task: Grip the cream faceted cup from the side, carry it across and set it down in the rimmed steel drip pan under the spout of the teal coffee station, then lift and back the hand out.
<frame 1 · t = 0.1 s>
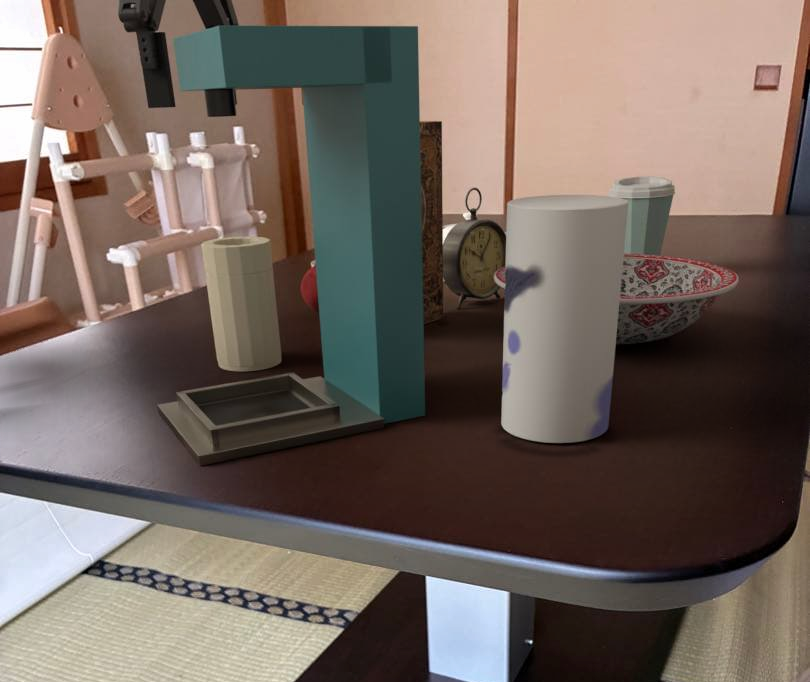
hand: (195, 106, 91), 28 cm above the table, tool pointing down, fingers open, 13 cm apart
candle: (343, 305, 128), on the table
book: (395, 327, 116), on the table
ceramic bowl: (607, 339, 107), on the table
onion: (323, 316, 122), on the table
disposable coffee cup: (634, 275, 142), on the table
cream faceted cup: (250, 362, 101), on the table
teapot: (465, 281, 142), on the table
container: (554, 427, 79), on the table
alarm clock: (473, 304, 126), on the table
coffee station: (258, 422, 83), on the table
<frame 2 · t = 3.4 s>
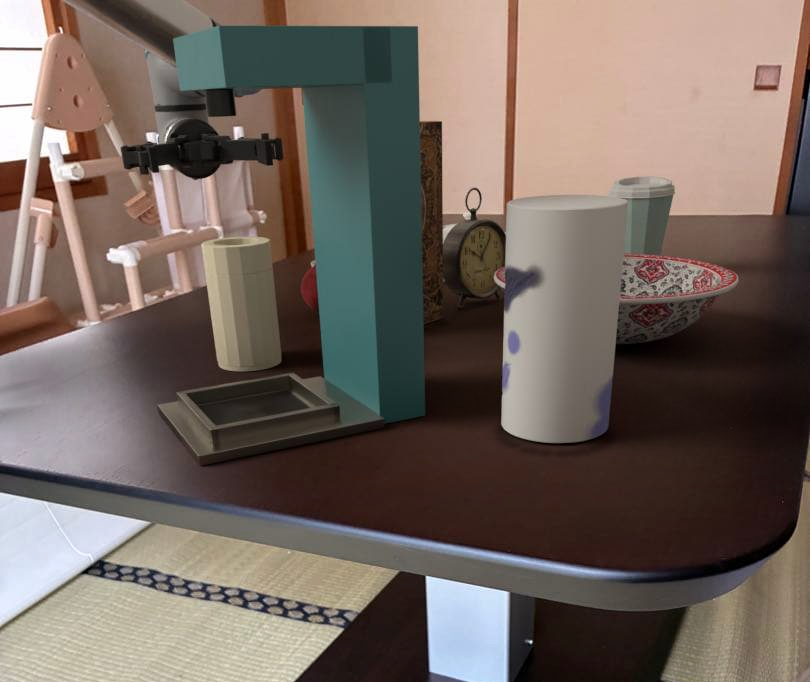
hand: (212, 156, 100), 22 cm above the table, tool horizontal, fingers open, 13 cm apart
nothing on the table moved.
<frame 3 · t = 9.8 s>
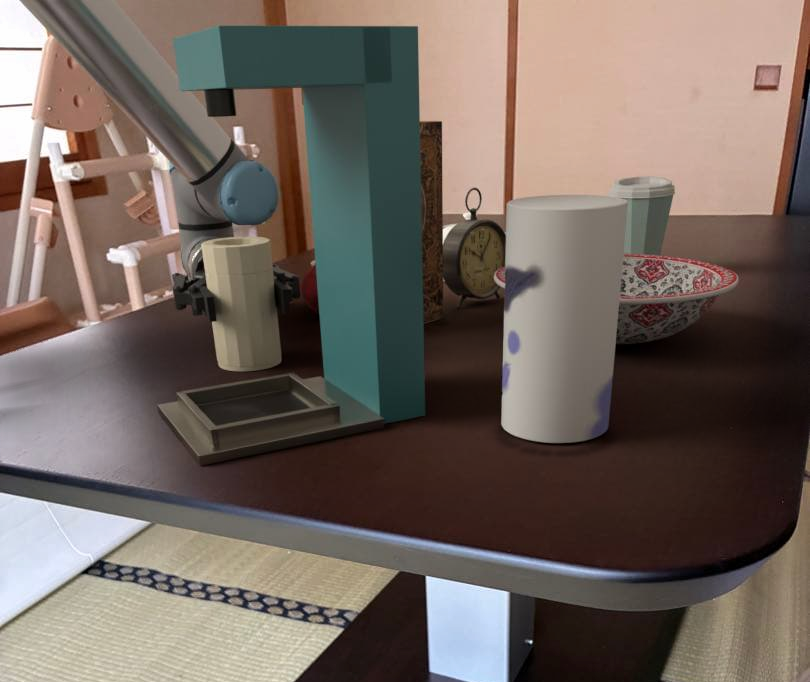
hand: (249, 305, 94), 8 cm above the table, tool horizontal, fingers closed on cream faceted cup, 8 cm apart
cream faceted cup: (250, 362, 101), on the table, touching gripper
everything else where it was.
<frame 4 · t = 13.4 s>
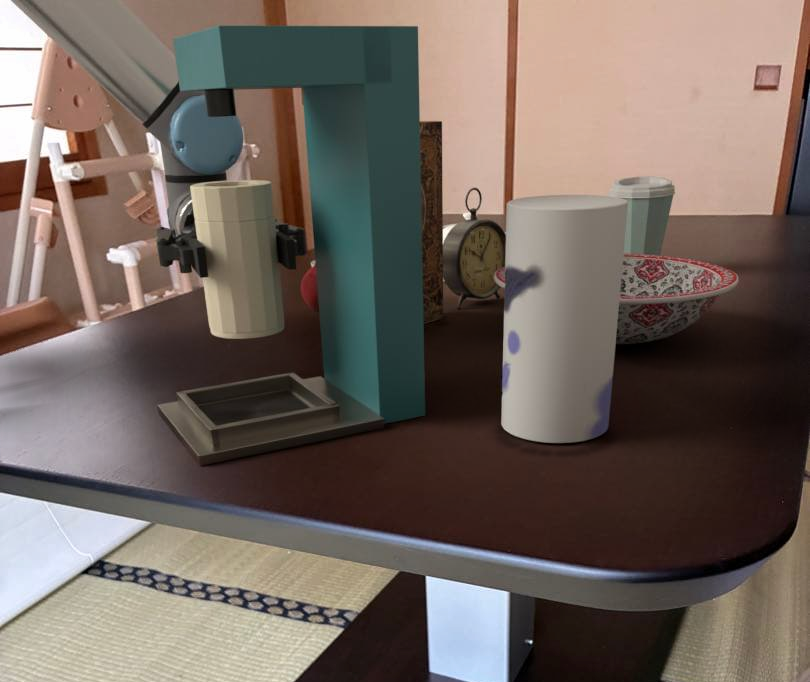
hand: (247, 258, 79), 15 cm above the table, tool horizontal, fingers closed on cream faceted cup, 8 cm apart
cream faceted cup: (247, 329, 87), point 7 cm above the table, touching gripper
everything else where it was.
when the fingers open (9 cm above the table, at t = 17.4 s): cream faceted cup stays where it is, resting on coffee station.
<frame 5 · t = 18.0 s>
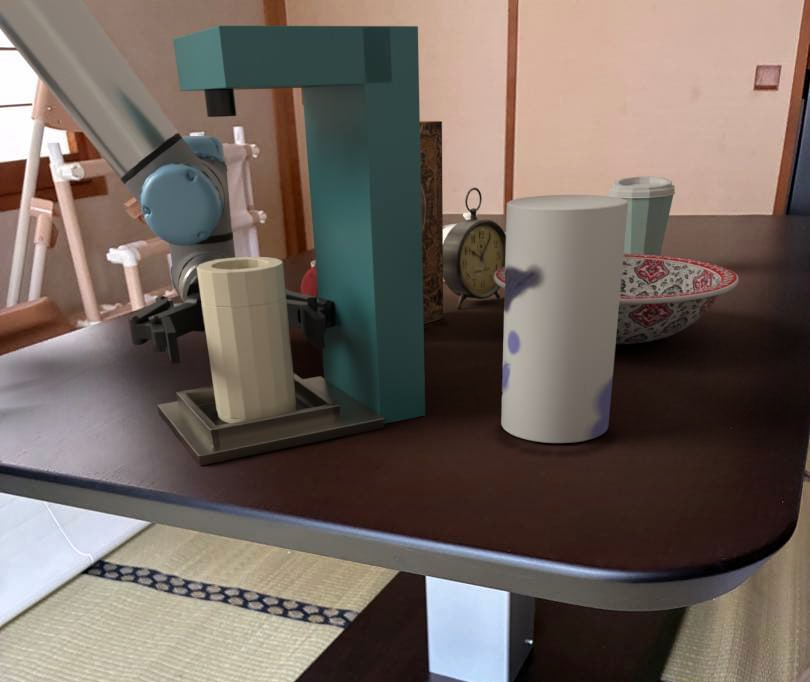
hand: (248, 341, 75), 9 cm above the table, tool horizontal, fingers open, 12 cm apart
cream faceted cup: (257, 411, 82), point 1 cm above the table, touching coffee station
everything else where it was.
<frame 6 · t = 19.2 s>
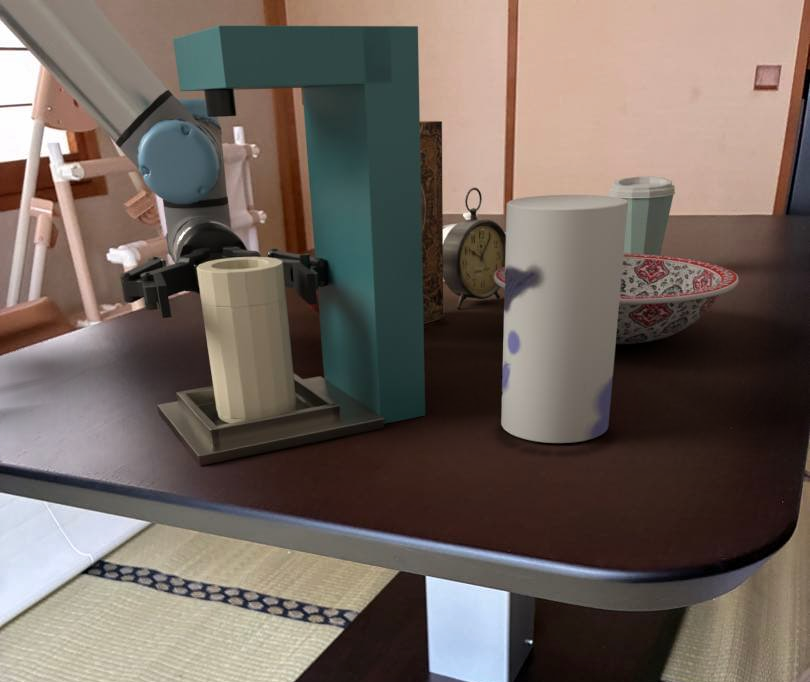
hand: (240, 295, 74), 13 cm above the table, tool horizontal, fingers open, 12 cm apart
nothing on the table moved.
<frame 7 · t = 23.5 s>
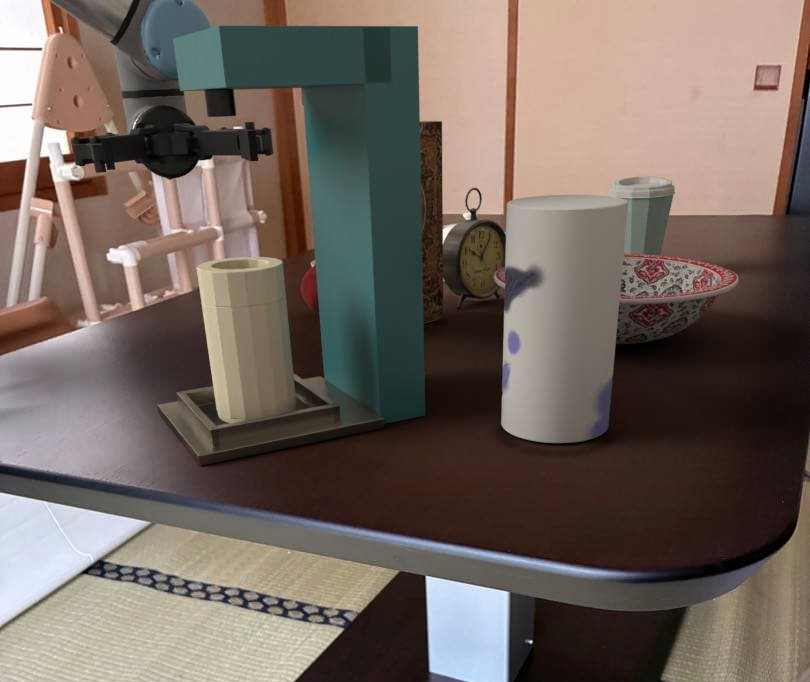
hand: (182, 150, 80), 24 cm above the table, tool horizontal, fingers open, 13 cm apart
nothing on the table moved.
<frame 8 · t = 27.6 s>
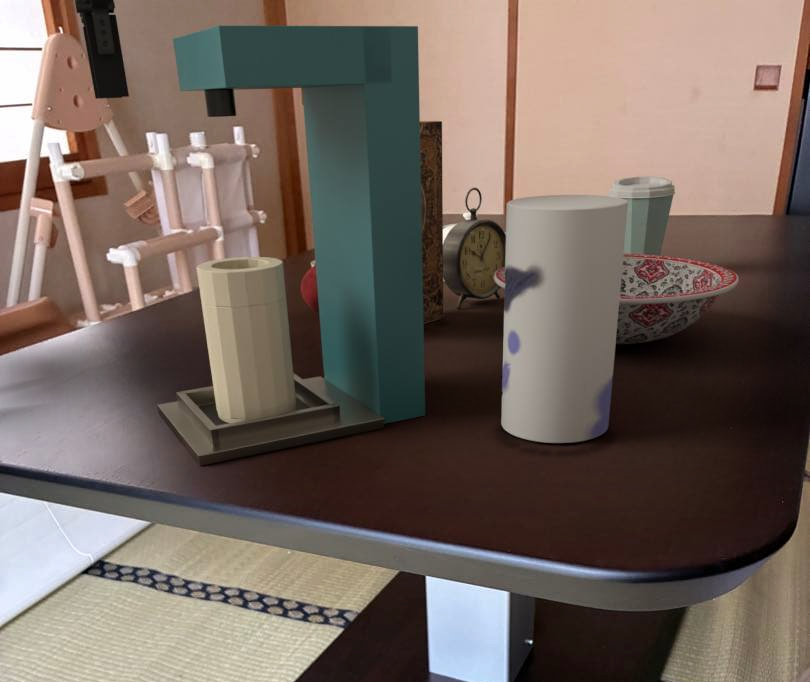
hand: (111, 98, 84), 29 cm above the table, tool pointing down, fingers open, 13 cm apart
nothing on the table moved.
at the end: cream faceted cup 0.0 cm off-centre on the coffee station, point 1.1 cm above the coffee station's base; cream faceted cup tilted 0°; the gripper is holding nothing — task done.
